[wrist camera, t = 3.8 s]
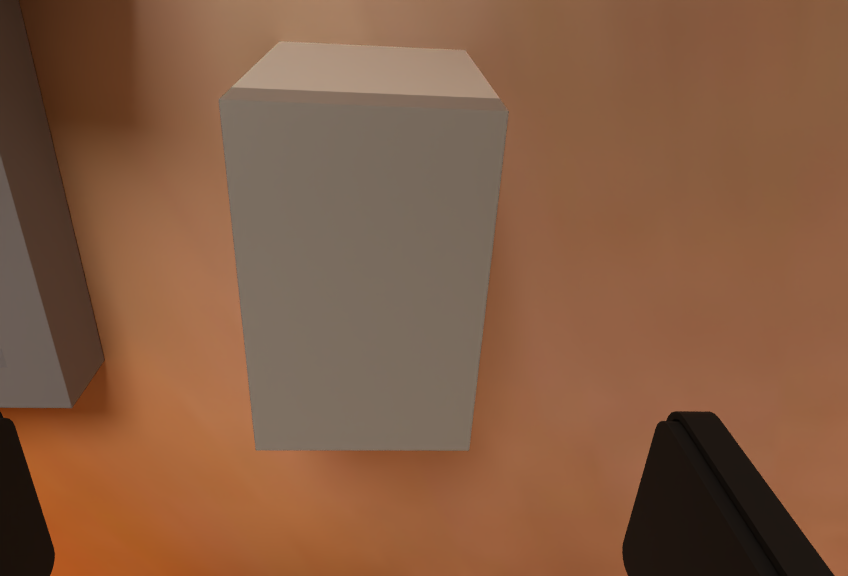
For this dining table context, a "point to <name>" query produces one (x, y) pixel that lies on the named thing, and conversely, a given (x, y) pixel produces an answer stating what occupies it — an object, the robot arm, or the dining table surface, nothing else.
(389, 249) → the grey bevelled box
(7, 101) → the domed grey panel
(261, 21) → the dining table surface
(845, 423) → the dining table surface
